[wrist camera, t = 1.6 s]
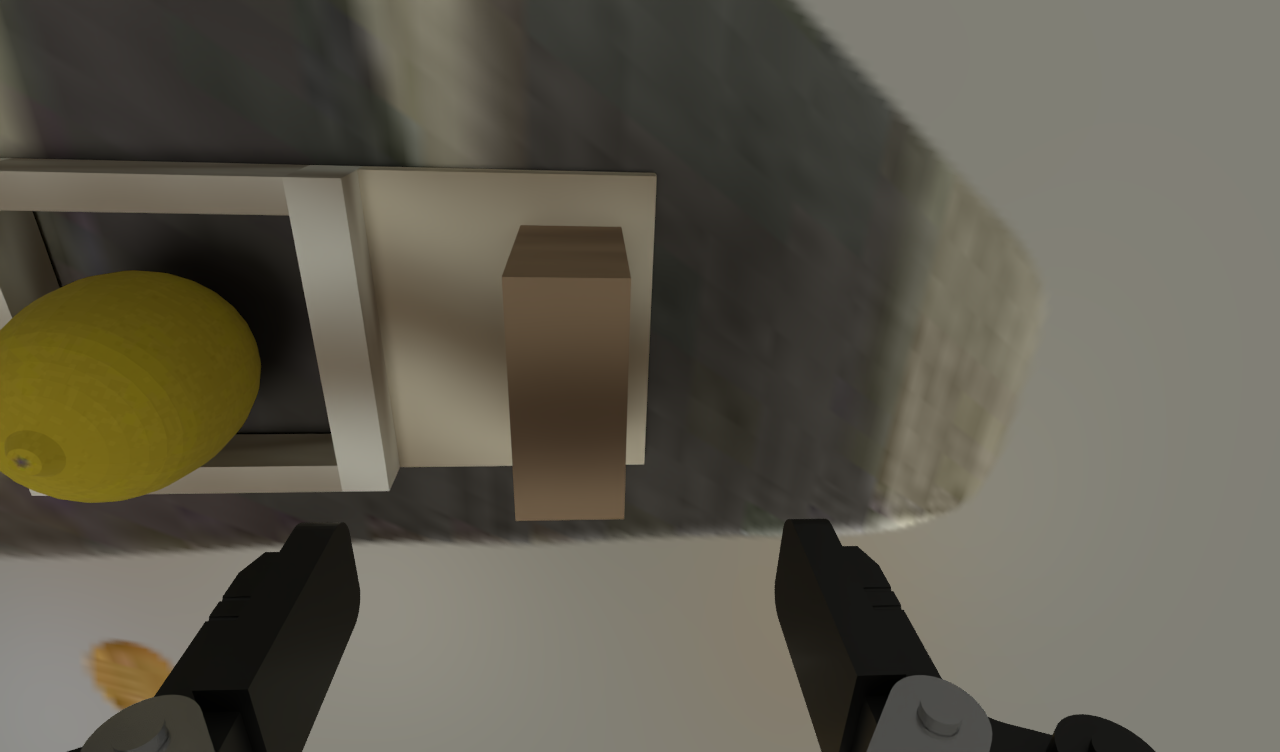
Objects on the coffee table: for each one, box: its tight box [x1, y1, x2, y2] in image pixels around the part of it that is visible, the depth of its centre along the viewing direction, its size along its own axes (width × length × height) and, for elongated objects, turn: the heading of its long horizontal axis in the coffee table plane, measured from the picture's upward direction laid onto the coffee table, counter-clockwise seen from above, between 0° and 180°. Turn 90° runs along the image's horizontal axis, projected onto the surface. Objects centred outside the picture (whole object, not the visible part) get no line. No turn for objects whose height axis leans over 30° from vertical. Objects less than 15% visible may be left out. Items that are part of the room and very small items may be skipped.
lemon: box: [0, 270, 261, 503], centre depth 18 cm, size 6×6×8 cm
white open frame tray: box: [0, 158, 657, 521], centre depth 19 cm, size 10×20×6 cm, turn 88°
